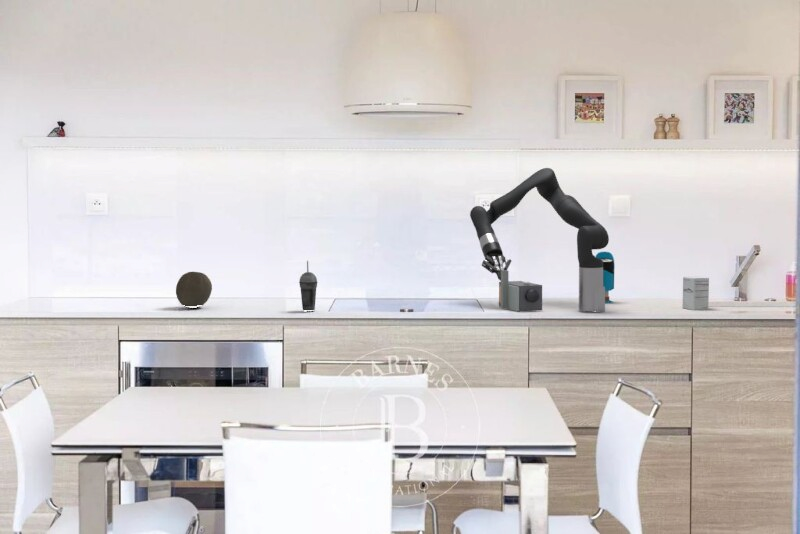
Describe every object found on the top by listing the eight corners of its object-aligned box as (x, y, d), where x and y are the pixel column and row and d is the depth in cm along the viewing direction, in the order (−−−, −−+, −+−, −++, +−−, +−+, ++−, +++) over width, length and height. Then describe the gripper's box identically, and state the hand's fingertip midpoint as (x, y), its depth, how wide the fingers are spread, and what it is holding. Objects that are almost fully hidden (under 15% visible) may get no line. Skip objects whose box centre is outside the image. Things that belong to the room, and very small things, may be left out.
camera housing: (498, 306, 421) (498, 279, 420) (520, 305, 424) (520, 278, 423) (521, 312, 400) (521, 283, 399) (544, 311, 403) (544, 283, 402)
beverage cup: (301, 313, 401) (300, 261, 400) (297, 310, 408) (297, 260, 407) (319, 312, 403) (319, 261, 402) (316, 310, 410) (315, 260, 409)
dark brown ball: (206, 310, 411) (205, 273, 410) (171, 310, 413) (170, 273, 412) (216, 306, 425) (215, 270, 424) (183, 306, 427) (182, 270, 426)
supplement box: (681, 308, 410) (682, 276, 409) (697, 307, 412) (697, 276, 411) (693, 310, 403) (693, 278, 402) (709, 309, 405) (709, 277, 404)
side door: (500, 308, 409) (500, 270, 408) (508, 308, 411) (508, 270, 409) (511, 311, 400) (511, 272, 399) (519, 310, 401) (519, 272, 400)
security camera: (594, 252, 426) (592, 251, 436) (594, 303, 428) (592, 301, 438) (615, 252, 425) (613, 251, 435) (615, 303, 427) (612, 301, 437)
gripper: (503, 252, 425) (515, 285, 414) (473, 253, 421) (484, 286, 410) (508, 240, 420) (520, 272, 409) (478, 241, 415) (489, 273, 405)
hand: (502, 279), depth 410 cm, fingers closed
